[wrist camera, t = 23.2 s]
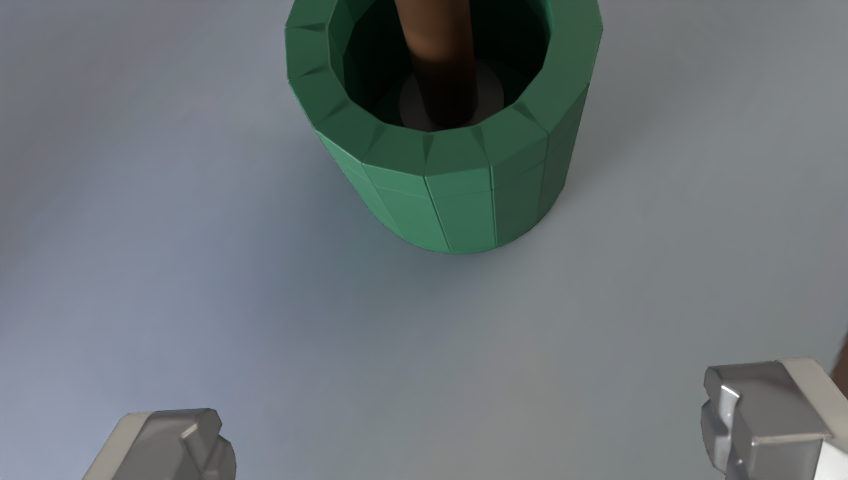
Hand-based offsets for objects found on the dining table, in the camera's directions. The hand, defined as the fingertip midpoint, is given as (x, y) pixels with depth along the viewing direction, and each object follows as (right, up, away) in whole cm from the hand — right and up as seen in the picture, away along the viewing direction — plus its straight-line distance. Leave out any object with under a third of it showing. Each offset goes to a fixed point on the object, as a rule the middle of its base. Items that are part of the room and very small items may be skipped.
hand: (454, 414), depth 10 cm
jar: (+1, +7, +19) cm, 21 cm away
